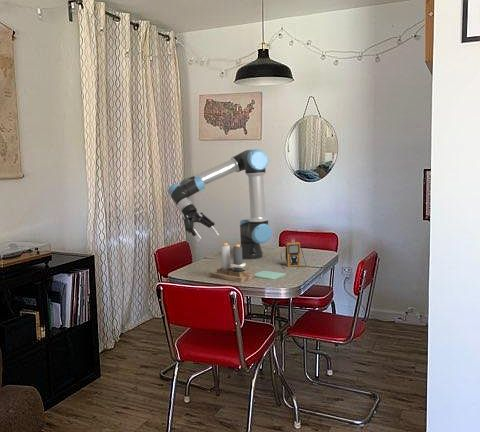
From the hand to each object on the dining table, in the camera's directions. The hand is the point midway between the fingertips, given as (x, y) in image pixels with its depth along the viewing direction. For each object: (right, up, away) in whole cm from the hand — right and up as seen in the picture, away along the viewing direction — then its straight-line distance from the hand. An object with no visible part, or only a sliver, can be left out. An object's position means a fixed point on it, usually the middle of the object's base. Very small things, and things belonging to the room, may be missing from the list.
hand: (208, 238), depth 255 cm
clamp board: (+12, -20, -7) cm, 24 cm away
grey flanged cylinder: (+16, -18, -10) cm, 26 cm away
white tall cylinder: (+9, -17, -5) cm, 20 cm away
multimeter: (+47, -17, +11) cm, 51 cm away
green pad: (+31, -19, -5) cm, 36 cm away
